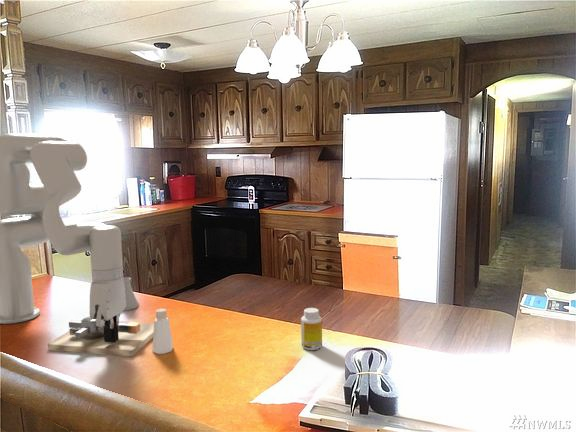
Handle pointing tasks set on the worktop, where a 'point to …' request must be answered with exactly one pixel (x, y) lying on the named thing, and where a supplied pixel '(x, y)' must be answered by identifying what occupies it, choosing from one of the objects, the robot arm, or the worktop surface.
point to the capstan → (99, 328)
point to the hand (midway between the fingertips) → (111, 340)
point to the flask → (129, 295)
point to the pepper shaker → (162, 333)
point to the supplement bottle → (311, 329)
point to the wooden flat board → (122, 347)
